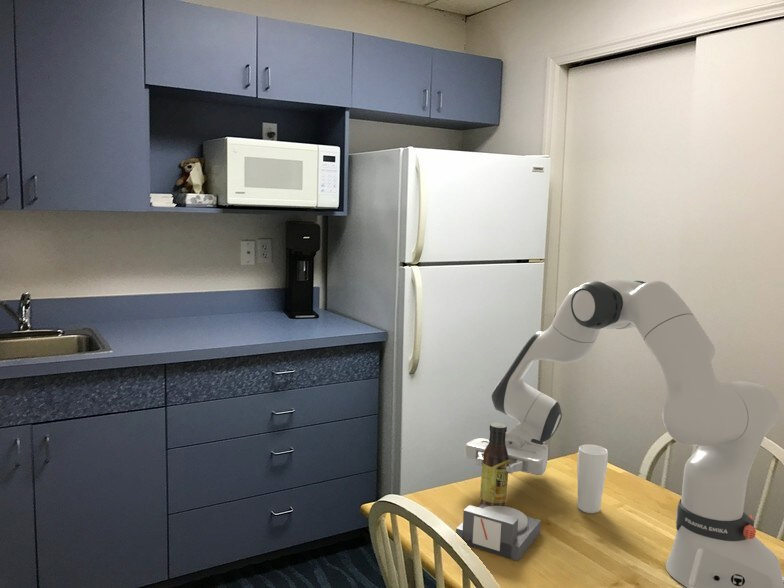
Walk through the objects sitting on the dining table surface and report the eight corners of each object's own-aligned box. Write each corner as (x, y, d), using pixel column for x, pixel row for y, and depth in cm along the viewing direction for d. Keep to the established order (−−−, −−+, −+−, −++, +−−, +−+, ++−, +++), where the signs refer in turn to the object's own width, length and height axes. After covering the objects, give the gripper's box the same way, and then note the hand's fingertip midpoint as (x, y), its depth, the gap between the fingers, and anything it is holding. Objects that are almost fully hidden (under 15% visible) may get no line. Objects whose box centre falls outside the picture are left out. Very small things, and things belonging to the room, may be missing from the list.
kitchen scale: (540, 533, 149) (542, 500, 148) (517, 561, 136) (519, 527, 135) (481, 516, 156) (483, 485, 155) (454, 542, 143) (456, 509, 142)
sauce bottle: (497, 513, 157) (502, 432, 154) (474, 505, 161) (479, 425, 158) (511, 504, 162) (515, 425, 160) (488, 496, 166) (492, 419, 163)
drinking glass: (600, 504, 164) (604, 445, 162) (606, 516, 157) (611, 455, 155) (571, 501, 165) (576, 443, 163) (576, 514, 158) (581, 453, 156)
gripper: (477, 428, 176) (454, 444, 164) (554, 445, 166) (535, 463, 154) (476, 451, 177) (453, 468, 165) (552, 469, 167) (533, 489, 155)
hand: (493, 466), depth 159 cm, fingers closed on sauce bottle, 6 cm apart
